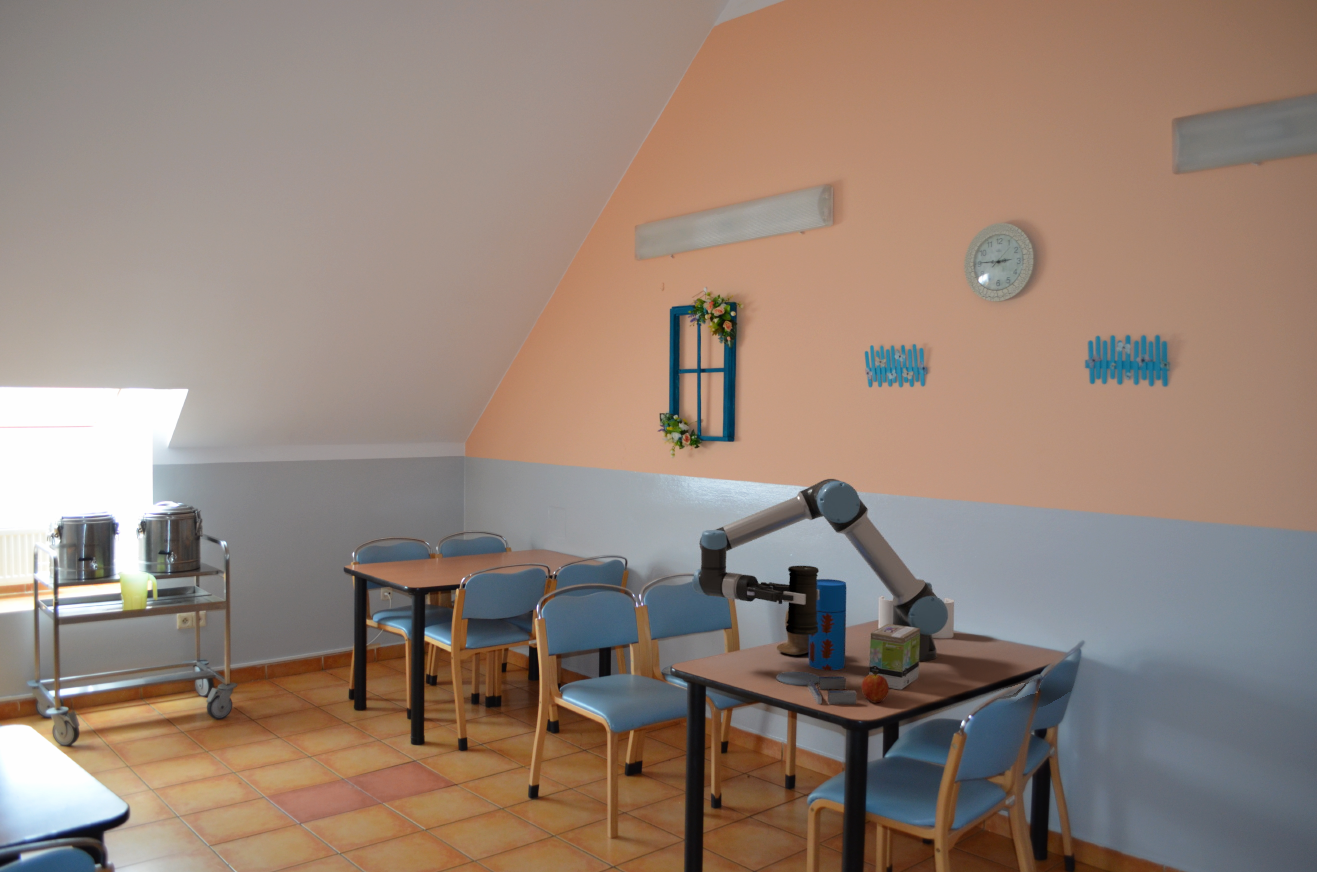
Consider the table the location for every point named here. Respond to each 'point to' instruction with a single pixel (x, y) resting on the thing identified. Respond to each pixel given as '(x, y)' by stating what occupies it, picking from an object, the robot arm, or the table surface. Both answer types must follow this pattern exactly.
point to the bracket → (945, 632)
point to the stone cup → (794, 643)
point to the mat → (797, 678)
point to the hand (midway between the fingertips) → (811, 597)
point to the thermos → (829, 626)
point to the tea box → (895, 654)
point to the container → (805, 615)
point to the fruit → (875, 687)
